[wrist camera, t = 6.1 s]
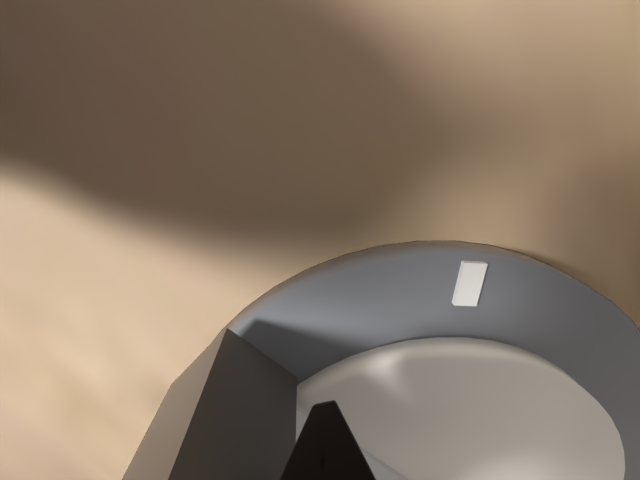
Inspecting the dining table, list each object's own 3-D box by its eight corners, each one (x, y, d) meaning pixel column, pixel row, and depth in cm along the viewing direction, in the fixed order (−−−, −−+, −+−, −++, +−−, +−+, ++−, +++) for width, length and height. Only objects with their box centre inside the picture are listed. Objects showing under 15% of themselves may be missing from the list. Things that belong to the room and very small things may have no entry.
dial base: (153, 223, 11) (128, 239, 10) (717, 255, 13) (777, 273, 11) (189, 589, 18) (178, 633, 17) (548, 580, 20) (570, 620, 18)
